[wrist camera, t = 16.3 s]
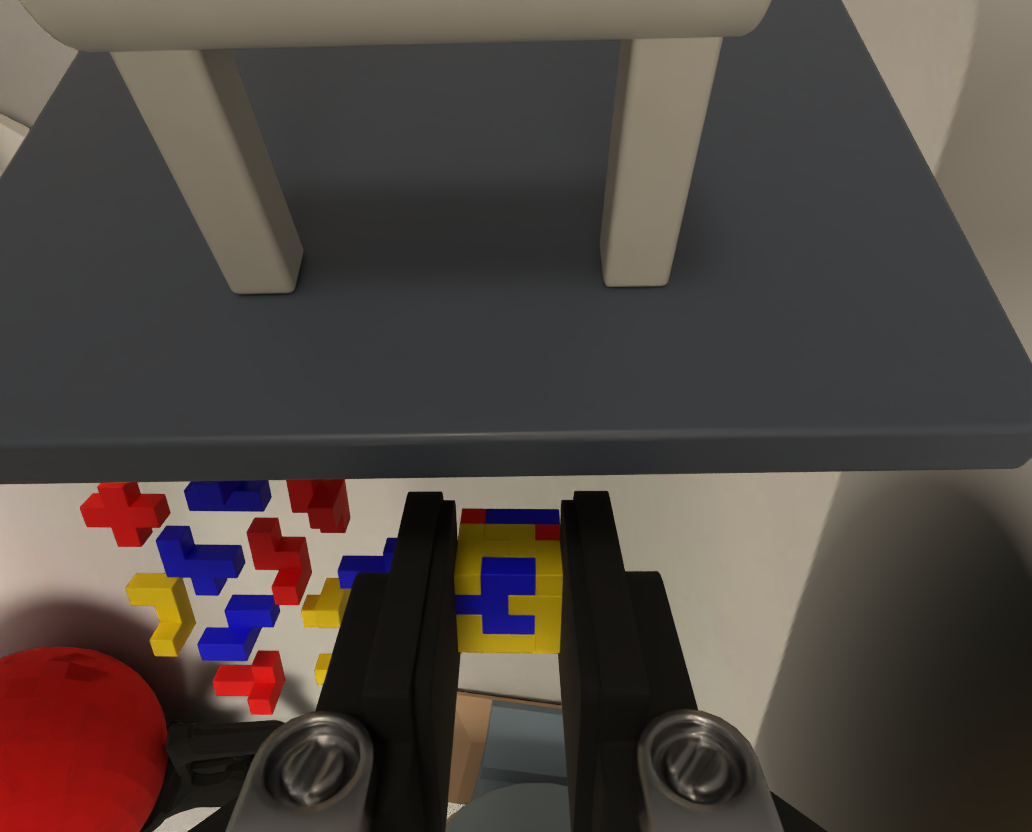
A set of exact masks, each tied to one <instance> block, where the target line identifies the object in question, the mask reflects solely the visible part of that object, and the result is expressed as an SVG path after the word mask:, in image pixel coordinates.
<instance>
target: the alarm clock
mask: <svg viewBox="0 0 1032 832" xmlns="http://www.w3.org/2000/svg"><path fill="white" fill-rule="evenodd" d="M448 802H451V803H457V804H465V806H463V807H462V808H461V809H460V810H459V811H457V812H456V813H454V814H452V815H451V816H450V817H449V818H448V819H447V820H446V830H445V832H571V825H570V812H569V798H568V784H567V770H566V756H565V742H564V728H563V714H562V706H561V705H554V704H546V703H539V702H531V701H524V700H516V699H509V698H502V697H494V696H487V695H479V694H472V693H465V692H457V701H456V713H455V725H454V736H453V748H452V760H451V772H450V784H449V795H448Z"/></svg>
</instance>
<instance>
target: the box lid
mask: <svg viewBox="0 0 1032 832" xmlns="http://www.w3.org/2000/svg"><path fill="white" fill-rule="evenodd" d="M19 1H20V2H21V4H22V5H23V6H24V8H25V9H26V10H27V11H28V13H29V14H30V15H31V16H32V17H33V18H34V20H35V21H36V22H37V23H38V24H39V25H40V26H41V27H42V28H43V29H44V30H45V31H46V32H48V33H49V34H50V35H51V36H53V37H54V38H55V39H56V40H58V41H60V42H61V43H63V44H65V45H67V46H69V47H71V48H74V49H77V50H79V52H78V54H77V55H76V57H75V59H74V60H73V62H72V63H71V65H70V67H69V68H68V70H67V71H66V73H65V75H64V76H63V78H62V79H61V81H60V82H59V84H58V86H57V87H56V89H55V90H54V92H53V94H52V95H51V97H50V98H49V100H48V102H47V103H46V105H45V106H44V108H43V110H42V111H41V113H40V114H39V116H38V118H37V119H36V121H35V122H34V124H33V126H32V127H31V129H30V130H29V132H28V134H27V135H26V137H25V138H24V140H23V142H22V143H21V145H20V146H19V148H18V150H17V151H16V153H15V154H14V156H13V158H12V159H11V161H10V162H9V164H8V166H7V167H6V169H5V170H4V172H3V174H2V175H1V177H0V484H48V483H113V482H179V481H244V480H309V479H374V478H439V477H505V476H570V475H635V474H700V473H765V472H830V471H892V470H894V471H895V470H959V469H960V470H961V469H1013V468H1018V467H1021V466H1023V465H1024V464H1025V463H1027V462H1028V461H1029V460H1030V459H1031V458H1032V363H1031V361H1030V359H1029V357H1028V355H1027V353H1026V351H1025V349H1024V348H1023V346H1022V344H1021V342H1020V340H1019V338H1018V336H1017V334H1016V332H1015V330H1014V328H1013V327H1012V325H1011V323H1010V321H1009V319H1008V317H1007V315H1006V313H1005V311H1004V309H1003V307H1002V306H1001V304H1000V302H999V300H998V298H997V296H996V294H995V292H994V290H993V288H992V287H991V285H990V283H989V281H988V279H987V277H986V275H985V273H984V271H983V269H982V267H981V266H980V264H979V262H978V260H977V258H976V256H975V254H974V252H973V250H972V248H971V246H970V245H969V243H968V241H967V239H966V237H965V235H964V233H963V231H962V229H961V227H960V225H959V224H958V222H957V220H956V218H955V216H954V214H953V212H952V210H951V208H950V206H949V205H948V203H947V201H946V199H945V197H944V195H943V193H942V191H941V189H940V187H939V186H938V184H937V182H936V180H935V178H934V176H933V174H932V172H931V170H930V168H929V166H928V164H927V162H926V161H925V159H924V157H923V155H922V153H921V151H920V149H919V147H918V145H917V143H916V142H915V140H914V138H913V136H912V134H911V132H910V130H909V128H908V126H907V124H906V122H905V121H904V119H903V117H902V115H901V113H900V111H899V109H898V107H897V105H896V103H895V101H894V100H893V98H892V96H891V94H890V92H889V90H888V88H887V86H886V84H885V82H884V80H883V79H882V77H881V75H880V73H879V71H878V69H877V67H876V65H875V63H874V61H873V60H872V58H871V56H870V54H869V52H868V50H867V48H866V46H865V44H864V42H863V40H862V39H861V37H860V35H859V33H858V31H857V29H856V27H855V25H854V23H853V21H852V19H851V18H850V16H849V14H848V12H847V10H846V8H845V6H844V4H843V2H842V0H19Z"/></svg>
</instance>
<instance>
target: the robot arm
mask: <svg viewBox="0 0 1032 832" xmlns="http://www.w3.org/2000/svg"><path fill="white" fill-rule="evenodd" d="M29 130H30V129H29V128H28V127H26V126H24V125H22V124H20V123H18V122H16V121H14V120H12V119H10V118H8V117H6V116H4V115H2V114H0V177H1V175H2V174H3V172H4V170H5V169H6V167H7V166H8V164H9V162H10V161H11V159H12V158H13V156H14V154H15V153H16V151H17V150H18V148H19V146H20V145H21V143H22V142H23V140H24V138H25V137H26V135H27V134H28V132H29ZM457 542H458V540H457V521H456V504H455V500H443V493H442V492H408V494H407V498H406V502H405V507H404V511H403V515H402V520H401V524H400V528H399V533H398V537H397V541H396V546H395V550H394V554H393V559H392V563H391V567H390V572H371V573H358V574H357V575H356V576H355V579H354V582H353V584H352V588H351V591H350V595H349V598H348V602H347V605H346V608H345V612H344V615H343V619H342V622H341V625H340V629H339V632H338V636H337V639H336V643H335V646H334V649H333V653H332V656H331V660H330V663H329V666H328V670H327V673H326V677H325V680H324V683H323V687H322V690H321V694H320V697H319V701H318V704H317V707H316V711H315V712H309V713H307V714H304V715H301V716H299V717H296V718H293V719H291V720H289V721H288V722H286V723H285V724H283V725H282V726H280V727H279V728H277V729H276V730H274V731H273V732H272V733H271V735H270V736H269V737H268V738H267V739H266V740H265V741H264V742H263V743H262V744H261V746H260V747H259V749H258V751H257V753H256V755H255V756H254V758H253V760H252V762H251V765H250V768H249V770H248V773H247V776H246V778H245V781H244V784H243V786H242V789H241V792H240V794H239V795H238V796H237V797H235V798H234V799H233V800H231V801H230V802H228V803H227V804H226V805H224V806H223V807H221V808H220V809H219V810H217V811H216V812H214V813H213V814H212V815H210V816H209V817H207V818H206V819H204V820H203V821H202V822H200V823H199V824H197V825H196V826H195V827H193V828H192V829H190V830H189V831H188V832H445V830H446V819H447V807H448V795H449V784H450V772H451V760H452V748H453V736H454V725H455V713H456V701H457V689H458V677H459V666H460V654H461V652H458V636H457V619H456V602H455V585H454V569H455V560H456V551H457ZM560 548H561V559H562V570H563V587H562V611H561V636H560V653H558V659H559V672H560V686H561V700H562V714H563V728H564V742H565V756H566V770H567V784H568V798H569V812H570V825H571V832H827V831H826V830H824V829H823V828H822V827H820V826H819V825H817V824H816V823H815V822H813V821H812V820H810V819H809V818H808V817H806V816H805V815H803V814H802V813H800V812H799V811H798V810H796V809H795V808H794V807H792V806H791V805H789V804H788V803H786V802H785V801H784V800H782V799H781V798H779V797H778V796H777V795H775V794H774V793H773V792H771V791H770V790H769V788H768V785H767V782H766V779H765V776H764V774H763V771H762V768H761V765H760V762H759V760H758V757H757V756H756V754H755V752H754V750H753V748H752V746H751V744H750V742H749V741H748V740H747V739H746V738H745V737H744V736H743V735H742V734H741V733H740V732H739V730H738V729H737V728H735V727H734V726H732V725H731V724H729V723H728V722H726V721H725V720H723V719H722V718H720V717H718V716H715V715H712V714H709V713H707V712H704V711H699V710H698V708H697V704H696V700H695V697H694V693H693V689H692V686H691V682H690V678H689V675H688V671H687V668H686V664H685V660H684V657H683V653H682V649H681V646H680V642H679V638H678V635H677V631H676V627H675V624H674V620H673V616H672V613H671V609H670V606H669V602H668V598H667V595H666V591H665V587H664V584H663V580H662V578H661V575H660V573H659V572H658V571H625V569H624V564H623V559H622V554H621V549H620V545H619V540H618V535H617V530H616V525H615V521H614V516H613V511H612V506H611V501H610V497H609V493H608V491H575V492H574V497H573V500H562V501H561V521H560Z"/></svg>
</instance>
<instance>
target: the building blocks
mask: <svg viewBox="0 0 1032 832" xmlns="http://www.w3.org/2000/svg"><path fill="white" fill-rule="evenodd" d="M286 481H287V487H288V492H289V497H290V502H291V508H292V512H293V513H308V516H309V522H310V528H311V529H320V531H321V533H345V532H346V529H347V526H348V523H349V521H350V512H349V505H348V498H347V491H346V484H345V479H309V480H286ZM97 488H98V491H99V493H93V494H92V495H91V496H90V497H89V498H88V499H87V500H86V501H85V502H84V503H83V504H82V505H81V507H80V510H81V513H82V516H83V518H84V521H85V524H86V526H87V527H111V528H112V531H113V534H114V536H115V539H116V542H117V545H118V547H142V546H143V544H144V543H145V542H146V540H147V539H148V538H149V536H150V535H151V534H152V532H153V531H152V528H160V527H161V525H162V524H163V523H164V521H165V520H166V519H167V517H168V516H169V515H170V510H169V506H168V503H167V499H166V496H165V494H141V493H140V490H139V487H138V484H137V482H113V483H100V485H99V486H98V487H97ZM184 493H185V497H186V500H187V504H188V508H189V510H190V511H260V512H263V511H264V510H265V508H266V507H267V505H268V503H269V501H270V499H271V492H270V487H269V482H268V480H244V481H191V482H190V483H189V484H188V486H187V487H186V488H185V490H184ZM247 536H248V541H249V545H250V549H251V553H252V558H253V562H254V566H255V569H256V570H279V572H278V574H277V576H276V578H275V581H274V583H273V585H272V591H273V595H232V597H231V599H230V601H229V603H228V605H227V607H226V609H225V614H226V618H227V622H228V625H229V627H228V628H212V627H207V628H206V629H205V631H204V633H203V635H202V636H201V638H200V640H199V642H198V644H197V645H198V648H199V652H200V655H201V658H202V660H208V661H247V660H248V658H249V656H250V654H251V651H252V649H253V647H254V644H255V642H256V640H257V638H258V635H259V633H260V631H261V629H262V627H274V625H275V622H276V620H277V618H278V615H279V613H280V608H279V605H299V604H300V602H301V599H302V597H303V594H304V592H305V589H306V587H307V584H308V581H309V579H310V576H311V574H312V570H311V564H310V559H309V553H308V548H307V543H306V537H282V535H281V530H280V525H279V520H278V518H254V520H253V522H252V523H251V525H250V527H249V529H248V531H247ZM396 541H397V538H387V540H386V544H385V548H384V551H383V556H343V557H342V560H341V563H340V566H339V568H338V576H339V578H326V581H325V584H324V586H323V589H322V592H321V595H307V597H306V599H305V602H304V605H303V607H302V610H301V613H302V618H303V623H304V627H318V628H340V625H341V622H342V619H343V615H344V612H345V608H346V605H347V602H348V598H349V595H350V591H351V588H352V584H353V582H354V579H355V576H356V575H357V574H358V573H371V572H390V567H391V563H392V559H393V554H394V550H395V546H396ZM156 543H157V546H158V550H159V553H160V556H161V559H162V562H163V565H164V569H165V572H166V573H136V574H135V576H134V577H133V578H132V580H131V581H130V583H129V584H128V585H127V587H126V588H125V589H126V592H127V595H128V598H129V600H130V603H131V605H132V606H154V607H155V610H156V612H157V615H158V618H159V621H160V624H159V625H158V627H157V629H156V630H155V632H154V634H153V635H152V637H151V638H150V644H151V646H152V649H153V652H154V655H155V656H168V657H177V656H178V654H179V653H180V651H181V649H182V647H183V645H184V644H185V642H186V640H187V638H188V636H189V635H190V633H191V631H192V629H193V628H194V626H195V624H196V621H195V618H194V614H193V611H192V608H191V604H190V601H189V598H188V595H187V591H186V588H185V585H184V581H183V578H191V580H192V583H193V587H194V590H195V593H196V595H213V596H218V595H219V594H220V592H221V590H222V588H223V587H224V585H225V583H226V581H227V578H238V576H239V574H240V572H241V570H242V568H243V566H244V564H245V559H244V555H243V550H242V546H241V545H195V544H194V540H193V537H192V533H191V530H190V526H166V527H165V528H164V530H163V531H162V532H161V534H160V535H159V537H158V538H157V539H156ZM454 585H455V602H456V619H457V636H458V652H475V653H534V652H535V653H560V636H561V611H562V587H563V570H562V559H561V548H560V517H559V509H462V513H461V520H460V528H459V535H458V542H457V551H456V560H455V569H454ZM331 656H332V654H320V655H319V658H318V661H317V664H316V667H315V670H314V671H315V676H316V681H317V685H323V683H324V680H325V677H326V673H327V670H328V666H329V663H330V660H331ZM212 682H213V686H214V689H215V692H216V695H217V696H249V697H248V700H247V701H248V704H249V708H250V712H251V714H260V715H272V714H273V712H274V709H275V706H276V704H277V701H278V698H279V696H280V693H281V690H282V688H283V685H284V682H285V676H284V672H283V667H282V663H281V659H280V654H279V651H258V652H257V654H256V656H255V659H254V661H253V663H252V665H220V667H219V669H218V671H217V673H216V675H215V677H214V679H213V681H212Z"/></svg>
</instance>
